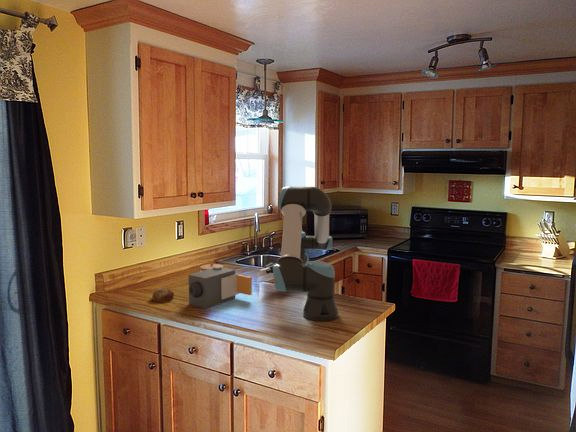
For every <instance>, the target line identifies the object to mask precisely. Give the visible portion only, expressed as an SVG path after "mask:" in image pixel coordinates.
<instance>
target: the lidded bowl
mask: <svg viewBox="0 0 576 432" xmlns="http://www.w3.org/2000/svg"><path fill="white" fill-rule="evenodd" d="M216 266H219V267H222V268H225V267H224V265H223V264H218V263H213V262H210V263H207V264H203V265H201V266H199V270H200V271H199V272H201V271H204V270H208V269H212V268H213V267H216Z"/></svg>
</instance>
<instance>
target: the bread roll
mask: <svg viewBox="0 0 576 432" xmlns="http://www.w3.org/2000/svg"><path fill="white" fill-rule="evenodd" d="M174 295H175V293H174V292H173V290H172V289H170V288H169V287H168V286H167V287H165V286H159V287H156V288H155V289H154V291H153V292H152V297H151V300H152V301H153V302H154V303H166V301H167V302H170V301H172V300H174V297H175V296H174Z"/></svg>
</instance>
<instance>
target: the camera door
mask: <svg viewBox="0 0 576 432" xmlns="http://www.w3.org/2000/svg"><path fill="white" fill-rule="evenodd" d="M252 281H253V280H252V276H248V275H243V274H240V273H235V274H234V275H231V276H227V277H224V278H221V299H225V298H228V297H231V296H234V295H235V296H237V295H239V294H244V295H247V296H251V295H253V294H252V293H253V290H252V289H253V287H252V286H253V284H252V283H253V282H252Z"/></svg>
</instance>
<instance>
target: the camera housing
mask: <svg viewBox="0 0 576 432" xmlns="http://www.w3.org/2000/svg"><path fill="white" fill-rule="evenodd" d="M234 274H236V269H232V268H227V267H226V268H225V267H224V268H222V267H219V266H216V267H213V268H212V269H208V270H204V271H201V272H200V271H198V272H194V273H190V274H188V275H187V276H188V305H190V304H191V305H190V306H195V307H197V308H198V307H200V308H202V309H209V308H212V307H214V306H217V305H219V304H223V303H227V302H228V301H230V300H231V301H232V300H234V299H236V295H234V296H231V297H228V298H225V299H221V278H224V277H227V276H231V275H234Z"/></svg>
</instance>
